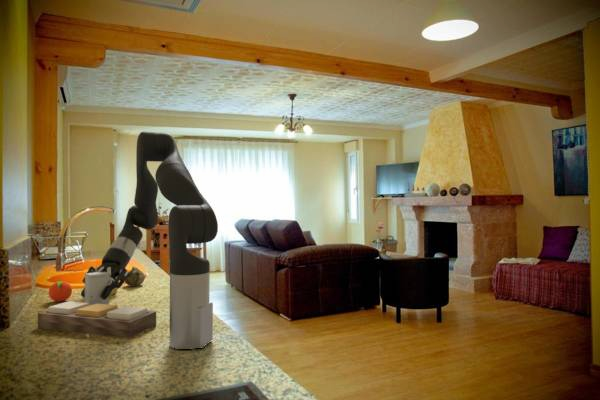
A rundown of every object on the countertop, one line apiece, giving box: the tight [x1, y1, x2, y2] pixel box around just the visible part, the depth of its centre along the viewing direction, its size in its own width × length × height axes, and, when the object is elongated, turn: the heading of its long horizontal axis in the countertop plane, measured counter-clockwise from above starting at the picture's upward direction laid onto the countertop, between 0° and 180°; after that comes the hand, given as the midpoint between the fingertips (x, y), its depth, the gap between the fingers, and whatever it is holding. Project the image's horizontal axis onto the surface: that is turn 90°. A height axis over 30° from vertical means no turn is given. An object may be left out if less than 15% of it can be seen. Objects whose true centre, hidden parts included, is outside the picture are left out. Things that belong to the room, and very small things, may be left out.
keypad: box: [37, 305, 157, 339], centre depth 114 cm, size 29×11×4 cm, turn 74°
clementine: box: [48, 280, 73, 303], centre depth 142 cm, size 8×7×7 cm
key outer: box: [48, 300, 89, 314], centre depth 116 cm, size 7×7×2 cm
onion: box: [124, 266, 146, 287], centre depth 170 cm, size 8×8×8 cm
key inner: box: [107, 305, 148, 320], centre depth 111 cm, size 7×7×2 cm
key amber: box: [77, 304, 119, 317], centre depth 114 cm, size 7×7×2 cm
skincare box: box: [84, 272, 110, 305], centre depth 128 cm, size 6×4×12 cm
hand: (92, 297), depth 127 cm, fingers closed on skincare box, 6 cm apart
